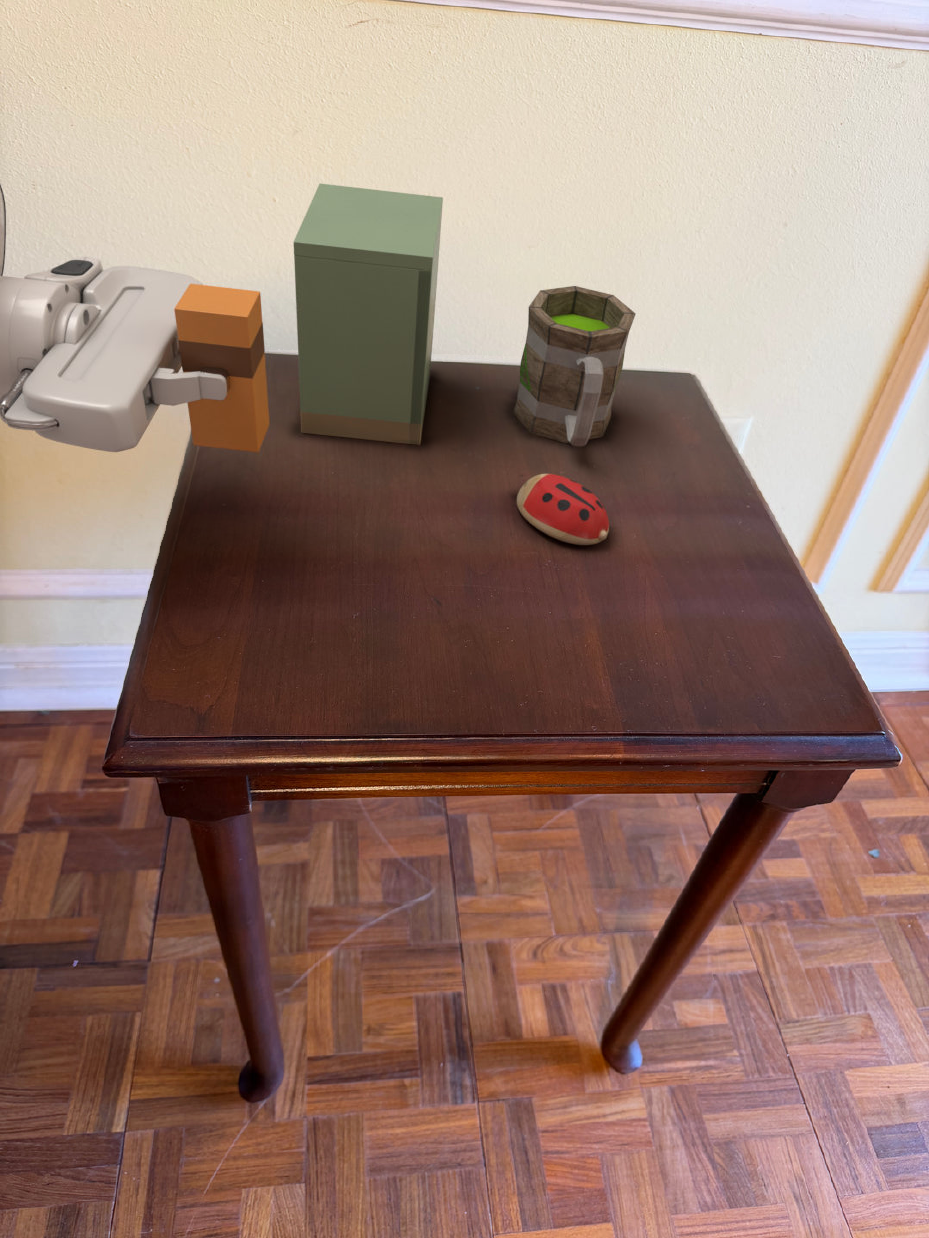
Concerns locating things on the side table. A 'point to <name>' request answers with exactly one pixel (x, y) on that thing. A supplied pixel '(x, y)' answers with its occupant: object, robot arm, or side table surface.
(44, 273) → the robot arm
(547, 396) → the mug
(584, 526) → the ladybug figurine
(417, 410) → the cubby
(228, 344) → the granola carton
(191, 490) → the side table surface
